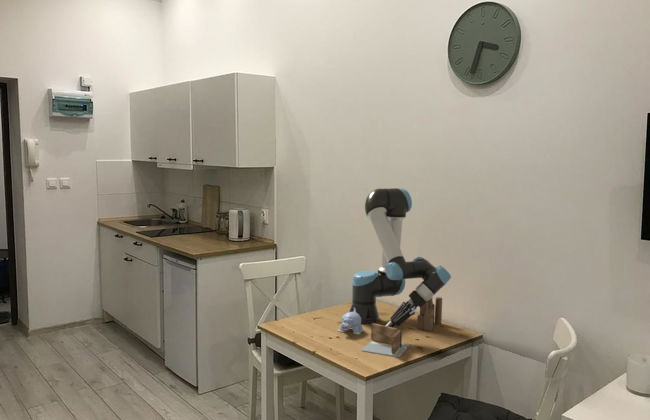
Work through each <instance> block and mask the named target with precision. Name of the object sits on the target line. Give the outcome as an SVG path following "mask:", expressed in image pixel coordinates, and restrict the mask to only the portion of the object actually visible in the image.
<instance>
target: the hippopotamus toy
mask: <svg viewBox="0 0 650 420" xmlns="http://www.w3.org/2000/svg"><path fill="white" fill-rule="evenodd" d="M340 319H341V320H340V321H341V325H340V326H339V328H338V330H337V332H340V333H345V332H346V331H348V330H350V329H352V330H351V331H352V334H355V335H361V334H362V332H364V331H365V330H364V328H363V326H362V323H361V317H360V315H359V314H358V313H356V309H355V308H354V311H353V312H349V311H348V312H346V313H344V314H343V315H342V317H341V318H340Z"/></svg>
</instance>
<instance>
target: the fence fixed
mask: <svg viewBox="0 0 650 420" xmlns="http://www.w3.org/2000/svg"><path fill="white" fill-rule="evenodd" d="M402 337H403V330H402V329H398V331H397V332H396V333H395V334H394V335H393V336H392V350H391V353H392V354H395V353H396V351H397V350H398V349H399V348H400V347H401V344H403V343H402V341H403V340H402Z"/></svg>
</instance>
